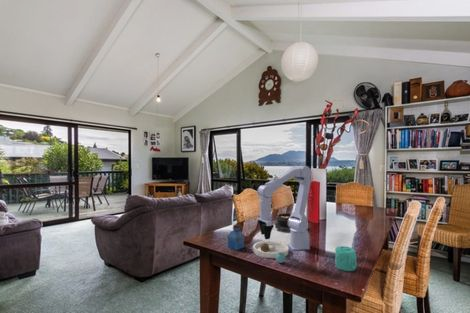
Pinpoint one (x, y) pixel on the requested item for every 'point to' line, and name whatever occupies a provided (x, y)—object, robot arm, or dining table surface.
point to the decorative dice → (345, 258)
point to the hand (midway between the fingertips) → (265, 236)
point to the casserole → (282, 221)
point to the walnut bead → (264, 247)
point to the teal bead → (280, 257)
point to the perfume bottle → (236, 238)
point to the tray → (270, 254)
